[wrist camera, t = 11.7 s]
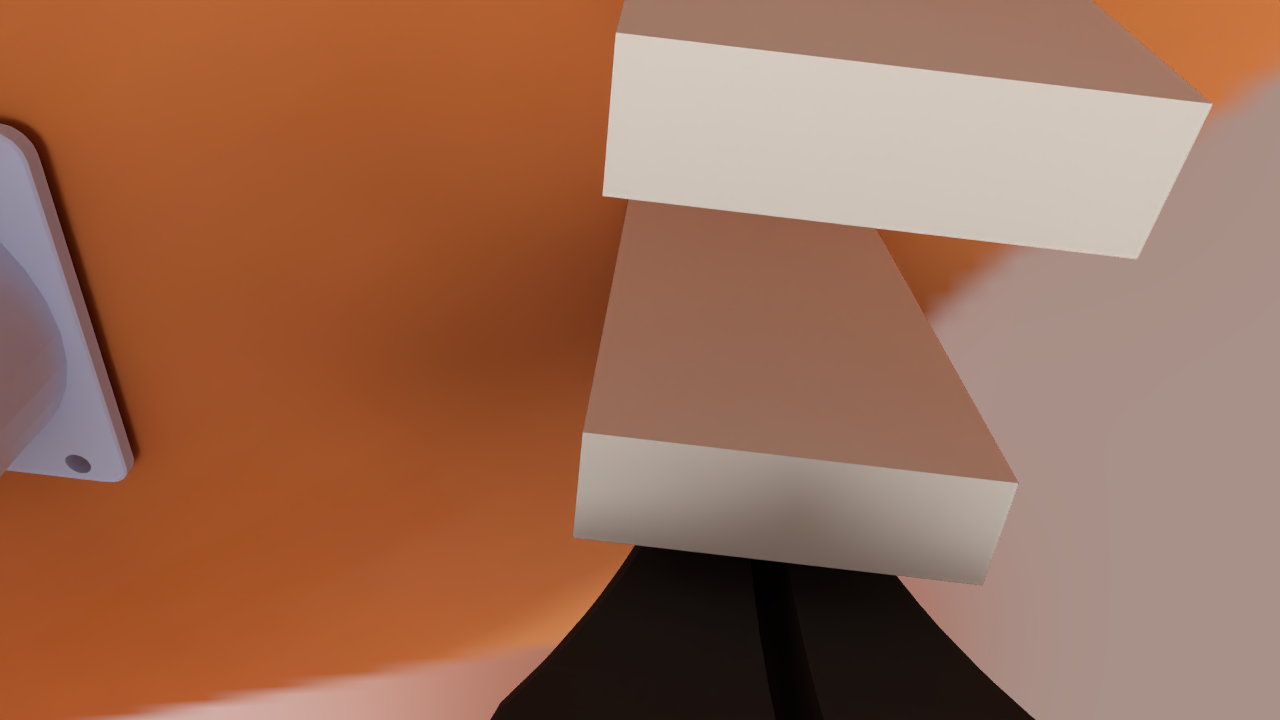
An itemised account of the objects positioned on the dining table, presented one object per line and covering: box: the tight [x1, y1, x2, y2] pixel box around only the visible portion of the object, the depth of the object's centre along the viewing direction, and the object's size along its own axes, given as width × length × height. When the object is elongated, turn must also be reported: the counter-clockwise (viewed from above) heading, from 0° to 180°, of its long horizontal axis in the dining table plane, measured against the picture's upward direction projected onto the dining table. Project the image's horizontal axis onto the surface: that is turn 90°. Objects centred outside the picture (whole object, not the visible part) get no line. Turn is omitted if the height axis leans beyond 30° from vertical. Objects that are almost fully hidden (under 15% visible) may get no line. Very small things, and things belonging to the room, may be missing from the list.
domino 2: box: [573, 199, 1019, 585], centre depth 12 cm, size 4×1×8 cm, turn 84°
